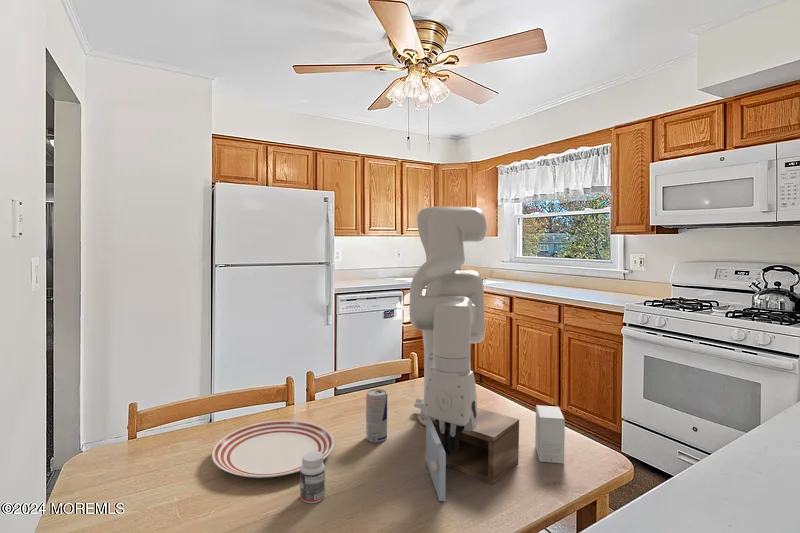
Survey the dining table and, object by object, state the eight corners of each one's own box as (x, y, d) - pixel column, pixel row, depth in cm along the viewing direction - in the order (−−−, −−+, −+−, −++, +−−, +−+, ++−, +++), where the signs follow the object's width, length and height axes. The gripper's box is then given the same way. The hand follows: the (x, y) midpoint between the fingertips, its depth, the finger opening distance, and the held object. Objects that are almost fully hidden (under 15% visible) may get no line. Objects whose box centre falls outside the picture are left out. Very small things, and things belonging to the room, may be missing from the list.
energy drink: (390, 435, 113) (390, 390, 113) (382, 444, 108) (382, 397, 108) (371, 432, 115) (371, 387, 114) (362, 441, 110) (362, 394, 109)
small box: (564, 464, 99) (565, 419, 98) (538, 462, 100) (539, 417, 99) (558, 448, 107) (559, 406, 106) (534, 446, 108) (535, 404, 107)
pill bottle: (302, 490, 88) (301, 450, 88) (325, 489, 88) (325, 449, 88) (298, 504, 83) (298, 462, 83) (323, 503, 84) (323, 461, 83)
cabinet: (430, 459, 101) (431, 417, 100) (458, 441, 110) (459, 402, 109) (493, 484, 90) (494, 437, 90) (518, 462, 100) (519, 419, 99)
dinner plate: (355, 443, 109) (355, 430, 109) (283, 502, 84) (282, 486, 84) (270, 424, 121) (269, 412, 120) (183, 471, 96) (183, 456, 96)
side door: (419, 460, 100) (419, 420, 99) (430, 459, 100) (431, 419, 100) (432, 501, 84) (432, 453, 83) (445, 500, 84) (445, 453, 84)
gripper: (410, 360, 89) (410, 447, 90) (475, 374, 80) (474, 471, 81) (431, 353, 95) (431, 435, 96) (494, 365, 86) (492, 456, 87)
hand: (450, 451), depth 89 cm, fingers closed
